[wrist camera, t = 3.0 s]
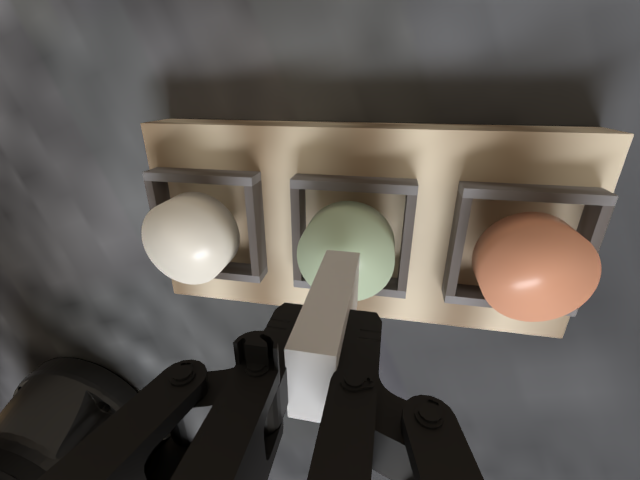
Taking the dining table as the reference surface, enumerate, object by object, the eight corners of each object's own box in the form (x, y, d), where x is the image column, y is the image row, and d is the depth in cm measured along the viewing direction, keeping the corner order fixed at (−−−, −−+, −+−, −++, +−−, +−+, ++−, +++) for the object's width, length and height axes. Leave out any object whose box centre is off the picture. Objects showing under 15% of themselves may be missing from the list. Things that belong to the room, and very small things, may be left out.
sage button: (306, 278, 21) (297, 296, 19) (304, 198, 19) (295, 210, 17) (391, 286, 20) (390, 306, 18) (398, 203, 18) (399, 216, 16)
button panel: (195, 273, 29) (162, 304, 25) (169, 118, 24) (123, 125, 20) (543, 310, 24) (573, 355, 20) (600, 127, 19) (655, 138, 15)
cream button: (170, 264, 23) (151, 280, 21) (155, 189, 21) (132, 199, 19) (243, 271, 22) (229, 288, 20) (235, 194, 20) (219, 205, 18)
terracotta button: (464, 294, 19) (471, 315, 18) (481, 208, 17) (491, 222, 16) (564, 304, 19) (581, 327, 17) (593, 215, 17) (617, 231, 15)
